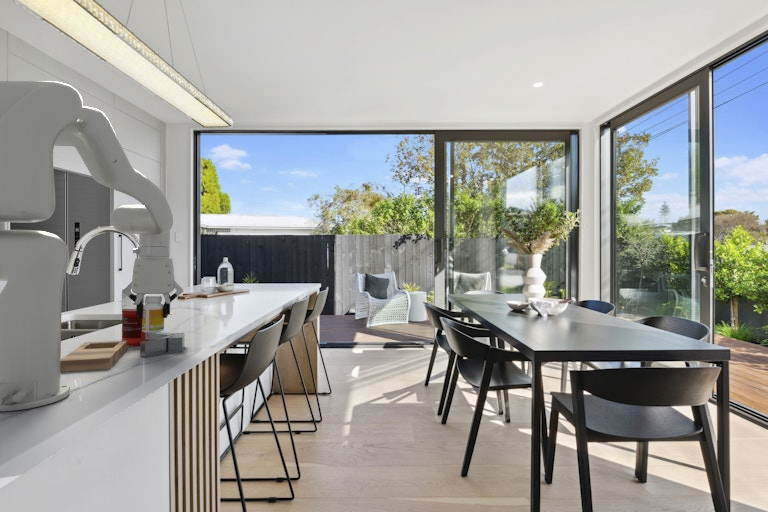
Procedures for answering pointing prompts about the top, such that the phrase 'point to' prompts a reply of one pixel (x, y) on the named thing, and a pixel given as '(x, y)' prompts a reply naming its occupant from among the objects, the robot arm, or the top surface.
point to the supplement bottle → (153, 315)
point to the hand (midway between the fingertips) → (153, 316)
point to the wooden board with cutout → (93, 356)
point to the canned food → (132, 327)
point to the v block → (161, 343)
